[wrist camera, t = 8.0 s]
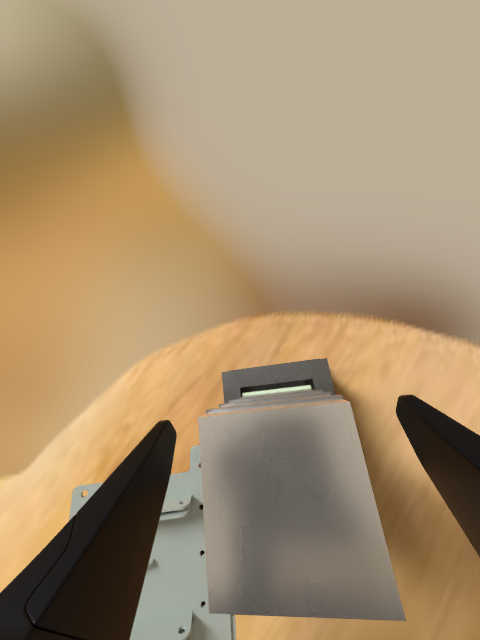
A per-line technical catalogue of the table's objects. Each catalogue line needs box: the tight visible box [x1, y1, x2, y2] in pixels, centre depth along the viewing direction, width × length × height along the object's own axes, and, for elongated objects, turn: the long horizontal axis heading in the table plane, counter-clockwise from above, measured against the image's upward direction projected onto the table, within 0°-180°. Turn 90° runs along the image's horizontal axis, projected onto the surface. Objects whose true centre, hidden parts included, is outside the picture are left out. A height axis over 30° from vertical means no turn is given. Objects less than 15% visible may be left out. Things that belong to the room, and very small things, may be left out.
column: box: [198, 385, 406, 621], centre depth 9 cm, size 4×4×9 cm
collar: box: [222, 358, 338, 403], centre depth 16 cm, size 8×8×6 cm
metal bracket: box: [69, 445, 236, 640], centre depth 17 cm, size 14×6×15 cm
